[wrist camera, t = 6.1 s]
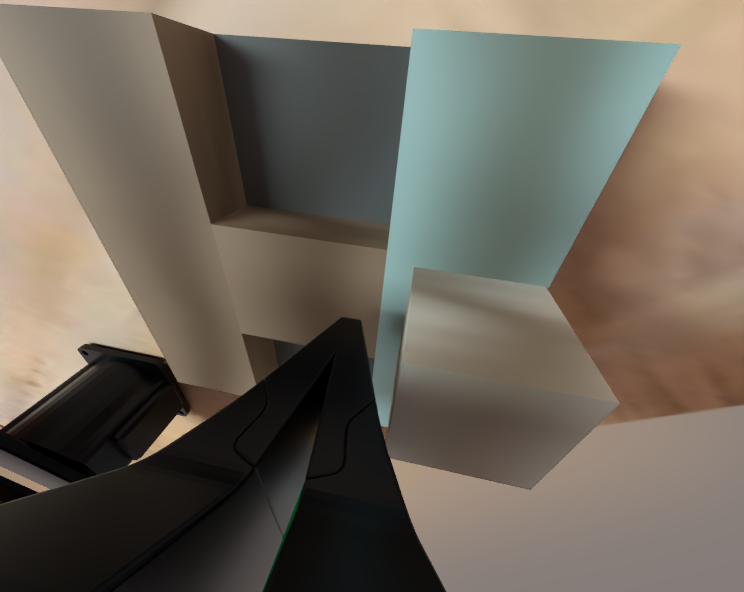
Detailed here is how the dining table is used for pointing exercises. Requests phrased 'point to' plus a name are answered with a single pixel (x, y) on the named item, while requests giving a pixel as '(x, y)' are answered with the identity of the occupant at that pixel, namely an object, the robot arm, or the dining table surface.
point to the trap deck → (319, 169)
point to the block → (490, 380)
